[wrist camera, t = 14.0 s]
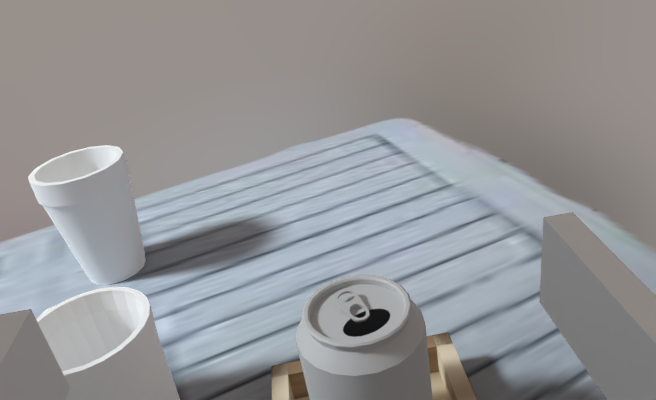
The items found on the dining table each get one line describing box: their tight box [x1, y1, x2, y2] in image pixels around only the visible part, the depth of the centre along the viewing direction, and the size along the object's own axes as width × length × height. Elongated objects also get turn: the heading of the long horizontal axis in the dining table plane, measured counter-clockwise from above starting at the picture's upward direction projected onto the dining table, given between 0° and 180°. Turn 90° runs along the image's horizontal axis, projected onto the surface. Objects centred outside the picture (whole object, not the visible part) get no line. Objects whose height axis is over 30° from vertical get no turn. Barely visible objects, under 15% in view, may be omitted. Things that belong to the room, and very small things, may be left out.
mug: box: [36, 287, 180, 400], centre depth 41 cm, size 11×9×10 cm
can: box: [297, 275, 433, 400], centre depth 35 cm, size 8×8×12 cm
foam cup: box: [28, 145, 146, 285], centre depth 62 cm, size 10×9×13 cm
